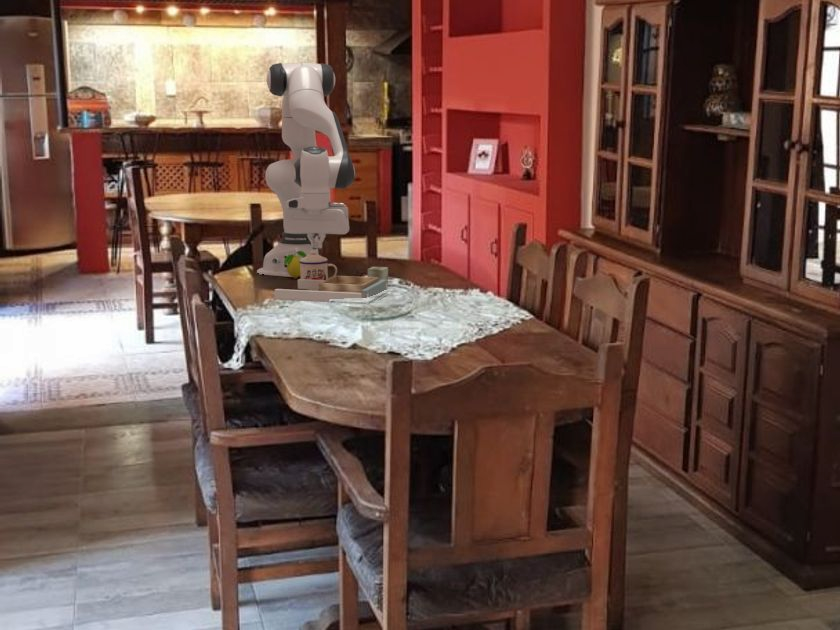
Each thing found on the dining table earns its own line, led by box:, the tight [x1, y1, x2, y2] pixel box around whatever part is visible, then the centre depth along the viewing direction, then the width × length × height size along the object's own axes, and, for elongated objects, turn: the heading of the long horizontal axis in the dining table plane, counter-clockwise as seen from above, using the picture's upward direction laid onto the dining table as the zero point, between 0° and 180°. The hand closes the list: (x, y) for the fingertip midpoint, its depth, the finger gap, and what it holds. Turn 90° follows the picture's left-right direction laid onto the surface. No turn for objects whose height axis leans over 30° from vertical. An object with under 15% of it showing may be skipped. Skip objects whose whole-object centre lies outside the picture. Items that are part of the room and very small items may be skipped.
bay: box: [274, 278, 389, 303], centre depth 324 cm, size 29×19×5 cm, turn 73°
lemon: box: [284, 249, 306, 280], centre depth 359 cm, size 7×6×10 cm
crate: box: [317, 275, 379, 293], centre depth 322 cm, size 14×14×5 cm
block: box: [367, 266, 389, 284], centre depth 338 cm, size 5×5×7 cm
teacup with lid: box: [299, 251, 338, 280], centre depth 343 cm, size 12×9×12 cm
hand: (316, 247), depth 324 cm, fingers closed
